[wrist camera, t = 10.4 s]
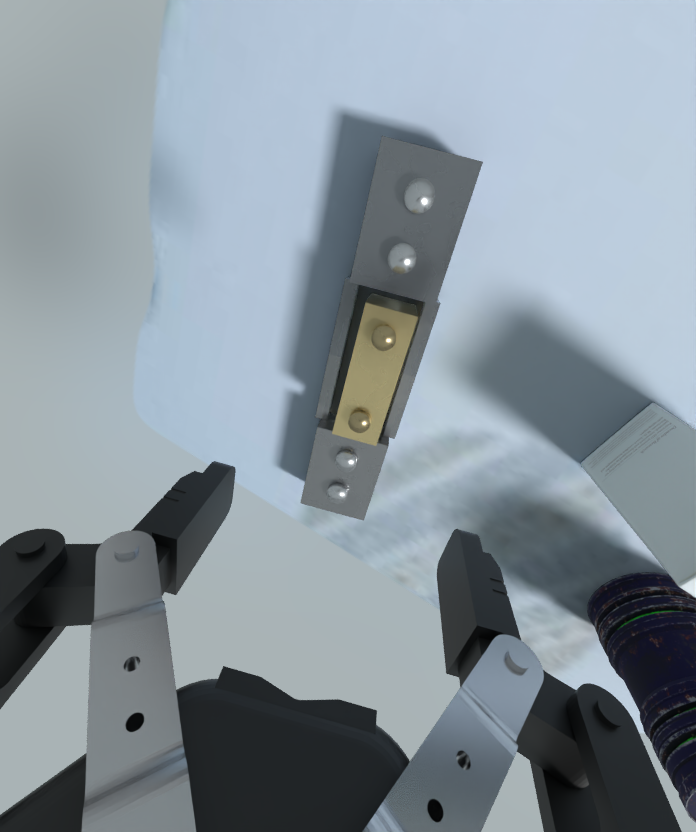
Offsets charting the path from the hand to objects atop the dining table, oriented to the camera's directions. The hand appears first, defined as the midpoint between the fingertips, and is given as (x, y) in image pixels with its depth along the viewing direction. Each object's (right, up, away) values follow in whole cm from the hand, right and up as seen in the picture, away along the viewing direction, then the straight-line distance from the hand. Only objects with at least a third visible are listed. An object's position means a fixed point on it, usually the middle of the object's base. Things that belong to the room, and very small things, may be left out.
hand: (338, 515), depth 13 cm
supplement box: (+25, 0, +18) cm, 31 cm away
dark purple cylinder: (+30, -16, +25) cm, 42 cm away
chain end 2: (+1, +2, +20) cm, 20 cm away
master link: (+3, +8, +17) cm, 19 cm away
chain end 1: (+4, +14, +14) cm, 20 cm away
